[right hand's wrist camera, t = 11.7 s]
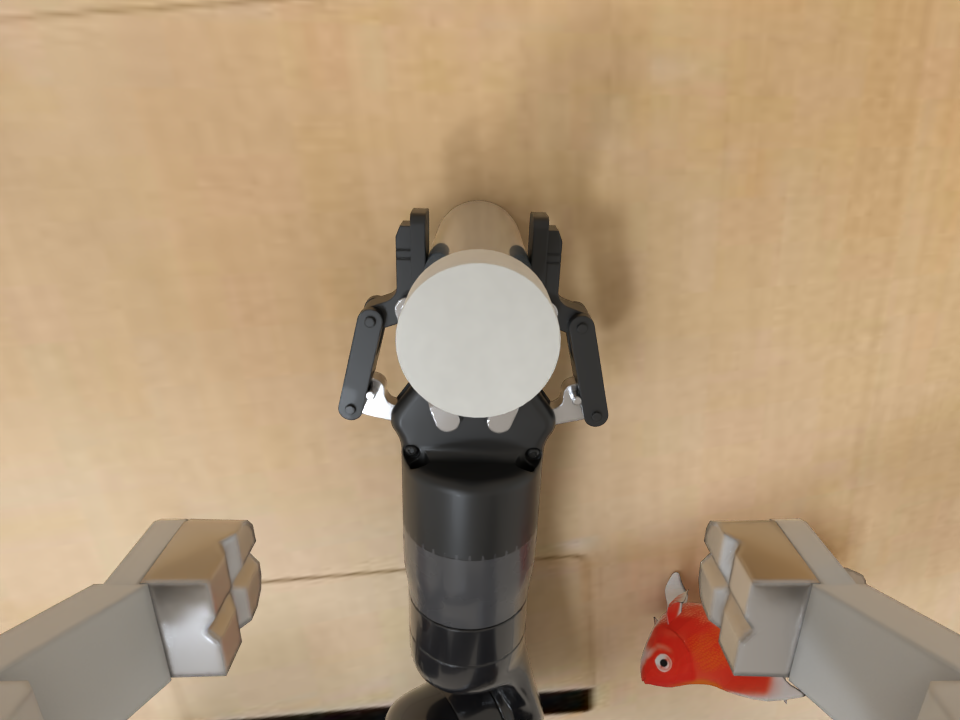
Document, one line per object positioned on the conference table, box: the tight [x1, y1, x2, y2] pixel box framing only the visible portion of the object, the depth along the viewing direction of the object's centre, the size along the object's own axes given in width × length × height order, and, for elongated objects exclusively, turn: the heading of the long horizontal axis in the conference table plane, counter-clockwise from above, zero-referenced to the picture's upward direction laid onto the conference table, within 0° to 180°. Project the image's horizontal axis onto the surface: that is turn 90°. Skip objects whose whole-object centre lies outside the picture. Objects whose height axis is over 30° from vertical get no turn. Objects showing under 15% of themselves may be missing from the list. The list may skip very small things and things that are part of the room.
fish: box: [640, 568, 866, 704], centre depth 40 cm, size 11×16×10 cm
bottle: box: [424, 201, 533, 271], centre depth 28 cm, size 5×5×16 cm
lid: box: [396, 249, 561, 418], centre depth 21 cm, size 5×5×2 cm
